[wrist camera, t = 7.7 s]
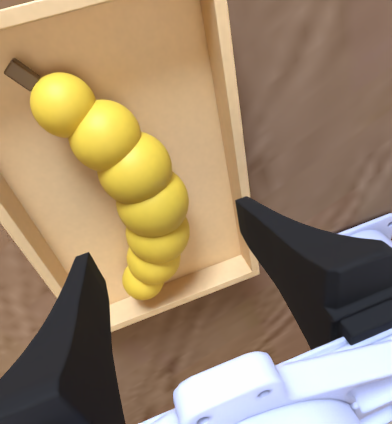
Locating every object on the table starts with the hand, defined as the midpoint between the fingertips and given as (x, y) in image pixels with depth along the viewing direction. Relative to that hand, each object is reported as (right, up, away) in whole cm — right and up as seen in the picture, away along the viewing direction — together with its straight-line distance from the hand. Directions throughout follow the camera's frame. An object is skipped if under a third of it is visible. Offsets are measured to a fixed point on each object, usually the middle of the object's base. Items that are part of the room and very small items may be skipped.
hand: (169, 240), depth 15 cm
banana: (-3, +3, +4) cm, 6 cm away
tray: (-3, +3, +4) cm, 6 cm away
